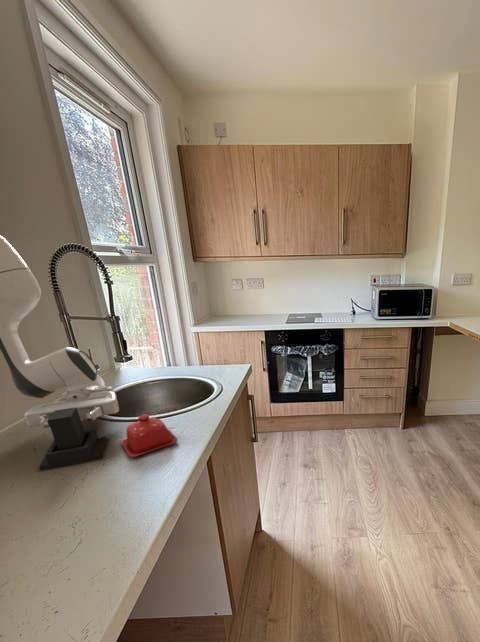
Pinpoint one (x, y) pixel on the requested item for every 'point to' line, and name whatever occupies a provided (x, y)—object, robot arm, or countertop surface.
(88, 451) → the base pad
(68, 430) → the black block
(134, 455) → the butter dish
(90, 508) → the countertop surface
